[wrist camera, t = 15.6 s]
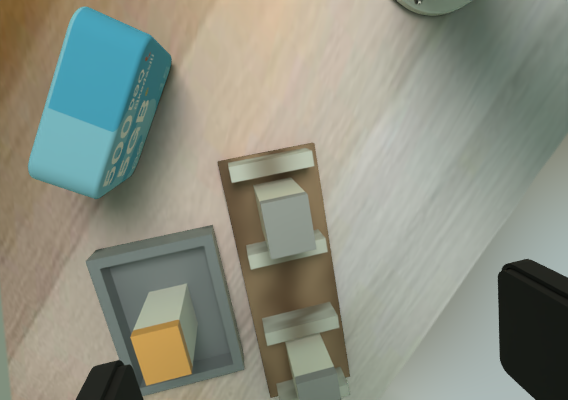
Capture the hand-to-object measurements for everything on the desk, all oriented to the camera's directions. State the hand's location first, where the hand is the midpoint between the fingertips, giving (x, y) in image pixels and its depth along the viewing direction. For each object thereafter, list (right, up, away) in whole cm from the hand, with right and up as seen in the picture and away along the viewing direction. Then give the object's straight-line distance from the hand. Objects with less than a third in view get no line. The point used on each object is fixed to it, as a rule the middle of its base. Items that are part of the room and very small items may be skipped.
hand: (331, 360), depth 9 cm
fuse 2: (+1, -14, +34) cm, 37 cm away
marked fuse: (-13, -8, +30) cm, 34 cm away
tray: (-13, -8, +31) cm, 35 cm away
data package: (-16, +13, +26) cm, 33 cm away
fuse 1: (-2, +4, +30) cm, 30 cm away
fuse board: (-1, -5, +33) cm, 33 cm away
